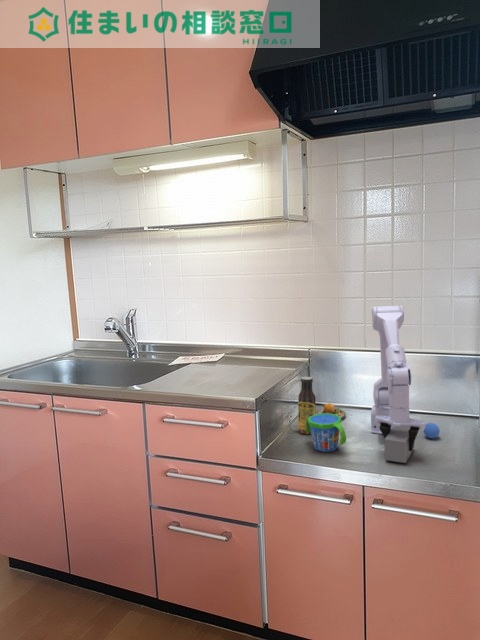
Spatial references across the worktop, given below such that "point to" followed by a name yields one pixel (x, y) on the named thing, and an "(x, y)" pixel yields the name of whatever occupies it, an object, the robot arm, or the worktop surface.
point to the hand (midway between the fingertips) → (399, 448)
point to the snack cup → (325, 431)
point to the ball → (431, 430)
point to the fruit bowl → (332, 411)
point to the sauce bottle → (305, 403)
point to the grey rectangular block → (397, 444)
